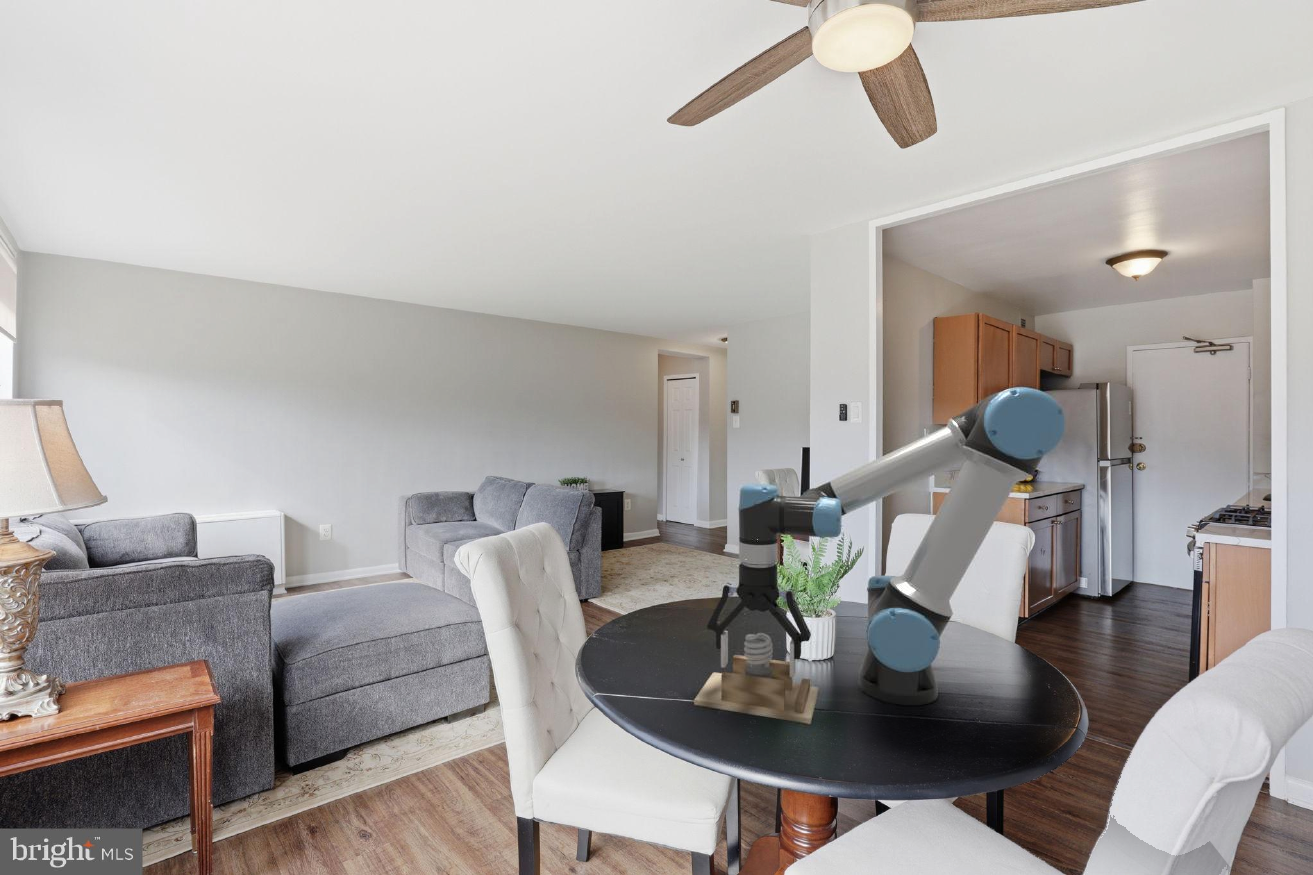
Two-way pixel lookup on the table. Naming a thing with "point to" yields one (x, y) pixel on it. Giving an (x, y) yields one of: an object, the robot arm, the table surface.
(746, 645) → the light bulb
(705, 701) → the u rest
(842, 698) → the table surface
